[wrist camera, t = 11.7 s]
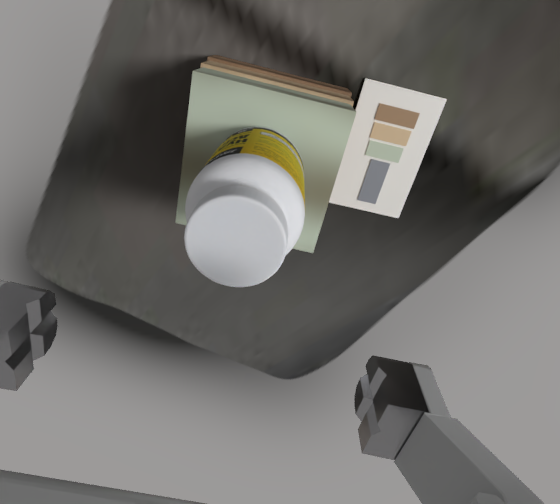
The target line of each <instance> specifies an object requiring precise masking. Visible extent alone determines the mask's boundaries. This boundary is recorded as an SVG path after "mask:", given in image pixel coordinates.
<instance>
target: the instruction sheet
mask: <svg viewBox="0 0 560 504" xmlns="http://www.w3.org/2000/svg"><path fill="white" fill-rule="evenodd" d="M446 100H447V99H444V98H440V97H437V96H433V95H429V94H425V93H421V92H417V91H413V90H410V89H406V88H402V87H398V86H394V85H390V84H386V83H382V82H379V81H375V80H371V79H367V78H365V80H364V83H363V86H362V90H361V93H360V96H359V99H358V103H357V106H356V109H355V111H356V116H355V119H354V122H353V125H352V129H351V132H350V135H349V138H348V142H347V145H346V148H345V151H344V154H343V158H342V161H341V164H340V167H339V171H338V174H337V177H336V180H335V184H334V187H333V190H332V193H331V196H330V200H329V202H330V203H334V204H339V205H343V206H347V207H352V208H356V209H360V210H365V211H369V212H373V213H378V214H382V215H386V216H391V217H395V218H399V215H400V213H401V211H402V208H403V206H404V203H405V201H406V198H407V196H408V193H409V191H410V189H411V186H412V184H413V181H414V179H415V176H416V174H417V171H418V169H419V166H420V164H421V162H422V159H423V157H424V154H425V152H426V149H427V147H428V144H429V142H430V140H431V137H432V135H433V132H434V130H435V127H436V125H437V122H438V120H439V118H440V115H441V113H442V110H443V108H444V105H445V103H446Z"/></svg>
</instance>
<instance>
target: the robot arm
mask: <svg viewBox="0 0 560 504" xmlns="http://www.w3.org/2000/svg"><path fill="white" fill-rule="evenodd" d="M55 305H56V298H55V293H53V292H52V291H50V290H45V289H41V288H36V287H32V286H27V285H23V284H19V283H14V282H8V281H3V280H0V388H1V389H8V390H14V391H17V390H18V388H19V387H20V386H21V385H22V383H23V382H24V381H25V379H26V378H27V377H28V376H29V374H30V373H31V372H32V371H33V369H34V367H33V360H36V359H37V358H40V357H42V356H44V355H45V354H46V352H47V351H48V350H49V349H50V347H51V345H52V343H53V341H54V338H55V336H56V331H57V318H56V317H55V316H54V314H53V313H52V312H51V310H52V309H53V308H54V306H55ZM366 370H367V374H366V375H364V376H363V377H361V378H360V380H359V382H358V384H357V387H356V392H355V413H356V415H357V416H358V418H359V419H360V420H361V421H362V422H361V424H360V426H359V429H358V432H359V438H360V444H361V450H362V453H363V454H368V455H373V456H377V457H382V458H387V459H392V460H395V461H394V462H395V464H396V465H397V467H398V468H399V470H400V471H401V473H402V474H403V476H404V477H405V479H406V480H407V482H408V483H409V484H410V486H411V488H412V489H413V491H414V492H415V494H416V495H417V496H418V498H419V500H420V501H421V503H422V504H544V503H543V502H542V501H541V500H540V499H539V498H538V497H537V496H536V495H535V494H534V493H533V492H532V491H531V490H530V489H529V488H528V487H527V486H526V485H525V484H524V483H523V482H521V480H519V478H517V477H516V476H515V475H514V474H513V473H512V472H511V471H510V470H509V469H508V468H507V467H506V466H505V465H504V464H503V463H502V462H501V461H500V460H499V459H498V458H497V457H496V456H495V455H494V454H493V453H492V452H490V450H489V449H487V448H486V447H485V446H484V445H483V444H482V443H481V442H480V441H479V440H478V439H477V438H476V437H475V436H474V435H473V434H472V433H471V432H470V431H469V430H468V429H467V428H466V427H465V426H464V425H463V424H462V423H461V422H460V421H458V419H455V418H451V416H450V414H449V411H448V409H447V407H446V404H445V402H444V399H443V397H442V395H441V392H440V389H439V387H438V385H437V382H436V380H435V377H434V375H433V372H432V370H431V368H430V367H429V366H427V365H422V364H416V363H411V362H409V363H408V362H403V361H398V360H393V359H388V358H383V357H377V356H372V357H371V358H370V359H369V360H368V362H367V364H366ZM0 504H205V503H199V502H193V501H187V500H180V499H175V498H168V497H162V496H156V495H150V494H145V493H138V492H133V491H126V490H120V489H114V488H108V487H102V486H96V485H90V484H84V483H78V482H72V481H66V480H60V479H54V478H48V477H42V476H36V475H30V474H24V473H18V472H12V471H5V470H0Z"/></svg>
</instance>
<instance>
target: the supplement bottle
mask: <svg viewBox="0 0 560 504" xmlns="http://www.w3.org/2000/svg"><path fill="white" fill-rule="evenodd" d="M185 215H186V221H187V224H186V228H185V234H184V240H185V247H186V251H187V254H188V256H189V258H190V260H191V262H192V263H193V265H194V266H195V267H196V268H197V269H198V270H199V271H200V272H201V273H202V274H203V275H205V276H206V277H207V278H209V279H210V280H212V281H214V282H216V283H219V284H222V285H226V286H231V287H247V286H253V285H256V284H259V283H261V282H263V281H265V280H267V279H268V278H270V277H271V276H272V275H273V274H274V273H275V272H276V271H277V270H278V269H279V267H280V266H281V264H282V262H283V260H284V258H285V255H286V254H287V253H289V251H290V250H291V249H292V248H293V247H294V245H295V244H296V242H297V241H298V239H299V237H300V235H301V232H302V229H303V225H304V219H305V190H304V168H303V163H302V159H301V156H300V154H299V152H298V150H297V148H296V147H295V146H294V144H293V143H292V142H291V141H290V140H289V139H288V138H287V137H286V136H284V135H283V134H281V133H279V132H277V131H275V130H273V129H270V128H266V127H248V128H244V129H241V130H239V131H237V132H235V133H233V134H232V135H230V136H229V137H228V138H227V139H225V140H224V142H223V143H222V144H221V145H220V146H219V147H218V149H217V150H216V151H215V153H214V154H213V155H212V156H211V158H210V159H209V160H208V162H207V163H206V164H205V166H204V167H203V168H202V169H201V171H200V172H199V173H198V175H197V176H196V177H195V179H194V181H193V183H192V184H191V186H190V189H189V191H188V194H187V198H186V204H185Z"/></svg>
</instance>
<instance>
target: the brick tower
mask: <svg viewBox="0 0 560 504" xmlns="http://www.w3.org/2000/svg"><path fill="white" fill-rule="evenodd" d="M351 95H352V93H351V92H350V91H349V90H348V89H347V88H343V87H339V86H335V85H331V84H327V83H324V82H320V81H316V80H312V79H308V78H304V77H300V76H296V75H292V74H288V73H284V72H281V71H277V70H273V69H269V68H265V67H261V66H257V65H253V64H249V63H245V62H241V61H238V60H234V59H230V58H226V57H222V56H218V55H213V56H208V59H207V61H206V62H202V63H201V67H200V69H196V70H193V72H192V81H191V90H190V99H189V107H188V116H187V125H186V134H185V143H184V152H183V160H182V169H181V178H180V187H179V196H178V204H177V213H176V222H175V223H179V224H183V225H186V224H187V221H186V215H185V204H186V198H187V194H188V191H189V189H190V186H191V184H192V183H193V181H194V179H195V177H196V176H197V175H198V173H199V172H200V171H201V169H202V168H203V167H204V166H205V164H206V163H207V162H208V160H209V159H210V158H211V156H212V155H213V154H214V153H215V151H216V150H217V149H218V147H219V146H220V145H221V144H222V143H223V142H224V140H225V139H227V138H228V137H229V136H230V135H232V134H233V133H235V132H237V131H239V130H241V129H244V128H248V127H266V128H270V129H273V130H275V131H277V132H279V133H281V134H283V135H284V136H286V137H287V138H288V139H289V140H290V141H291V142H292V143H293V144H294V146H295V147H296V148H297V150H298V152H299V154H300V156H301V159H302V163H303V168H304V190H305V219H304V225H303V229H302V232H301V235H300V237H299V239H298V241H297V242H296V244H295V245H294V247H293V248H292V249H297V250H301V251H306V252H311V253H313V251H314V248H315V245H316V242H317V238H318V235H319V232H320V229H321V226H322V222H323V219H324V216H325V213H326V209H327V206H328V203H329V200H330V196H331V193H332V190H333V187H334V184H335V180H336V177H337V174H338V171H339V167H340V164H341V161H342V158H343V154H344V151H345V148H346V145H347V142H348V138H349V135H350V132H351V129H352V125H353V122H354V119H355V116H356V111H355V109H354V108H353V103H354V101H353V100H352V99H351Z"/></svg>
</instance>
